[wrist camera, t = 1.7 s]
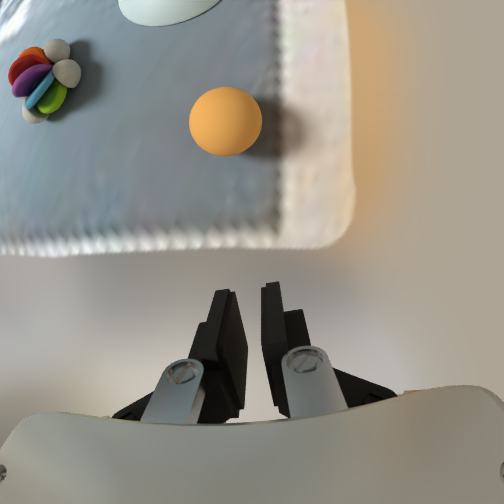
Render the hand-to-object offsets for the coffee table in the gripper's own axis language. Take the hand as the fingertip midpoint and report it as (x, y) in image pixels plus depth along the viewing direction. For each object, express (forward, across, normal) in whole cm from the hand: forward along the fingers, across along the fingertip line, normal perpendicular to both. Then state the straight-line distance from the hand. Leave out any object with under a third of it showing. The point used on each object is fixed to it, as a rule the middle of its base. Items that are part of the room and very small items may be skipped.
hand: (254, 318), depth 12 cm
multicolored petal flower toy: (+18, +20, -21) cm, 34 cm away
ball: (+14, +1, -10) cm, 17 cm away
